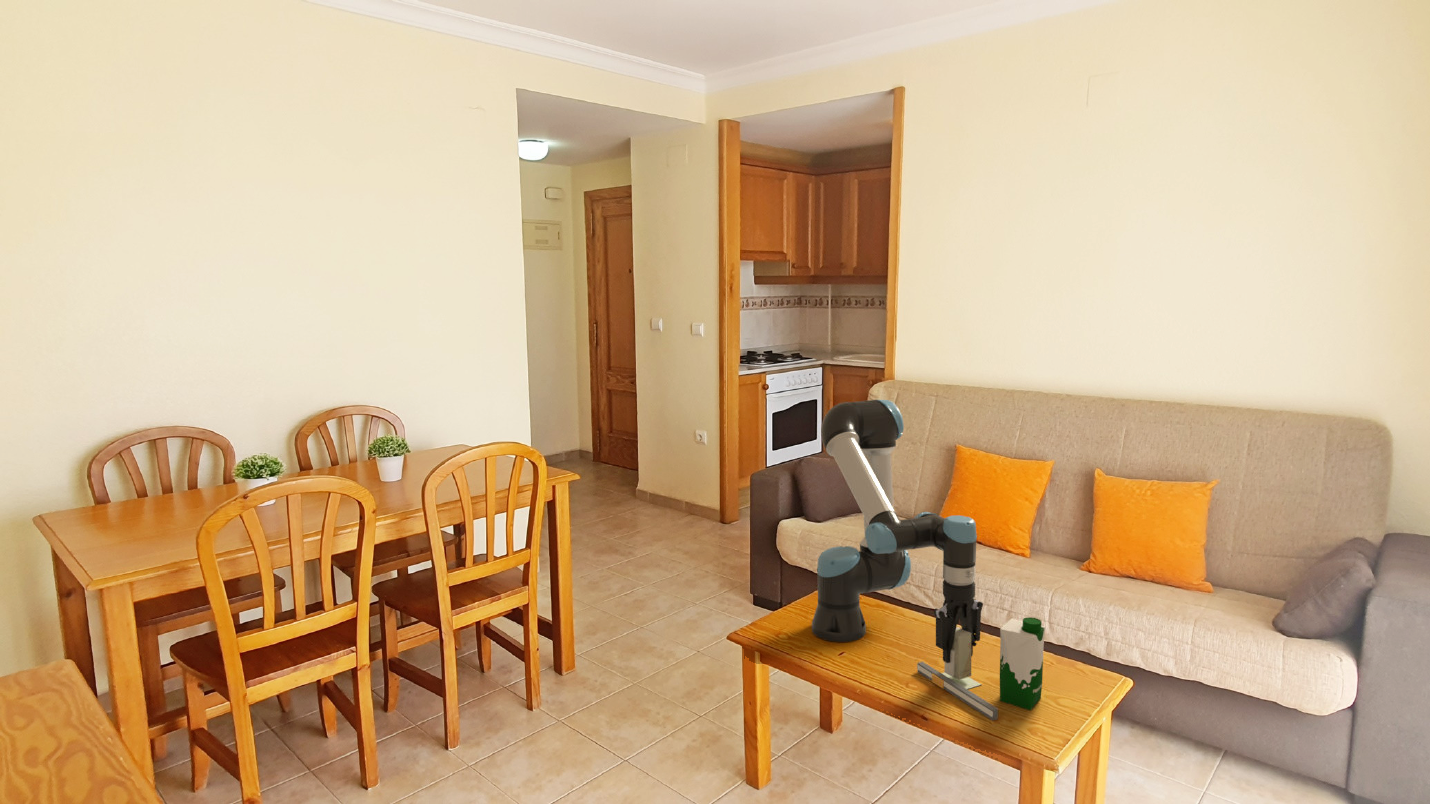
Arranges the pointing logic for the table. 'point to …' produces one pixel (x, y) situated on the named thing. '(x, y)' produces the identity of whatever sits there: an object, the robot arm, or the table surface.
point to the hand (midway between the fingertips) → (957, 671)
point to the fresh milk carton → (1021, 662)
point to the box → (962, 654)
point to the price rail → (958, 691)
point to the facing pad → (964, 681)
